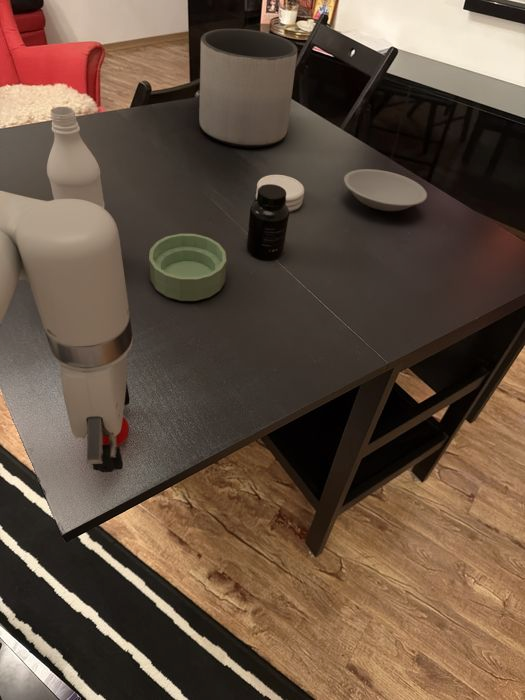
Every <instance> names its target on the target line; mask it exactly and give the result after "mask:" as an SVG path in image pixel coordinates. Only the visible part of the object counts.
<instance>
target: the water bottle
mask: <svg viewBox="0 0 525 700" xmlns="http://www.w3.org/2000/svg"><path fill="white" fill-rule="evenodd" d="M50 116H51V117H50V118H51V131H52V132H53V136H54V137H53V144H52V147H51V150H50V152H49V155H48V159H47V164H46V173H47V174H46V175H47V178H48V179H49V183H50V184H49V185H50V189H51V193H52V197H53V200H57V199H80V200H85V201H89V202H92V203H95V204H97V205H99V206H101V207H102V208H104V209H105V204H106V203H105V201H104V200H105V199H104V193H103V186H102V180H101V168H100V166H99V162H98V161H97V159H96V157H95V156H94V154H92V152H91V151H90V149H89V148H88V147H87V145H86V144H85V142H84V141H83V139H82V137H81V135H80V131H81V128H80V125H79V122H78V121H77V115H76V112H75V109H73V108H72V107H70V106H55V107H53V108H51V109H50Z"/></svg>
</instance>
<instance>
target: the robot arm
mask: <svg viewBox="0 0 525 700" xmlns="http://www.w3.org/2000/svg"><path fill="white" fill-rule="evenodd" d="M125 278H126V277H125V270H124V263H123V255H122V247H121V239H120V233H119V229H118V226H117V223H116V221H115V219H114V218H113V216H112V215H111V214H110V213H109V212H108V210H106V209H105V207H104V208H102V207H101V206H99V205H97V204H95V203H92V202H89V201H85V200H80V199H57V200H54V199H51V200H43V199H38V198H33V197H29V196H24V195H19V194H16V193H13V192H7V191H3V190H0V325H1V324H2V322H3V320H4V318H5V316H6V314H7V312H8V309H9V306H10V304H11V301H12V299H13V296H14V295H15V291H16V288H17V285H18V283H19V282H20V281H26V282H28V283H29V287H30V290H31V293H32V295H33V299H34V302H35V305H36V308H37V311H38V314H39V317H40V320H41V324H42V327H43V330H44V333H45V336H46V339H47V343H48V345H49V349H50V352H51V355H52V357H53V359H54V360H55V362H56V363H58V364H59V365H60V378H61V379H60V381H61V388H62V395H63V400H64V404H65V410H66V414H67V417H68V421H69V422H68V423H69V425H70V426H69V427H70V430H71V432H72V435H73V437H75V438H76V439H77V438H78V439H84V438H85V436H86V441H87V442H86V444H87V445H86V464H87V465H91V466H92V469H93V471H96V472H98V471H99V472H101V473H112V472H114V471H120V470H123V468H124V461H123V457H122V452H121V448H120V446H119V445H118V446H116V435H118V434H119V433H120V431H121V426H122V419H123V417H124V412H125V411H124V409H125V406H128V405H129V404H130V402H131V401H130V400H131V399H130V393H129V392H130V391H129V387H128V381H127V380H128V359H127V356H128V354H129V353H130V352H131V349H132V346H133V343H134V338H133V330H132V329H133V328H132V321H131V315H130V307H129V299H128V292H127V285H126V279H125ZM103 422H104V427H103ZM103 436H109V445H102V439H103Z"/></svg>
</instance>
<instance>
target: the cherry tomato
mask: <svg viewBox="0 0 525 700" xmlns="http://www.w3.org/2000/svg"><path fill="white" fill-rule="evenodd" d="M103 427H104V422H103ZM129 433H130V425H129V422H128V420H127V419H126V418H125V417H124V416H123V419H122V426H121V431H120V433H119V434H118V435H116V446H118V447H119V446H120V445H122V444H123V443H124V442H125V441H126V440H127V438H128V437H129ZM102 445H109V436H103V439H102Z"/></svg>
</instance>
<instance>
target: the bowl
mask: <svg viewBox="0 0 525 700" xmlns="http://www.w3.org/2000/svg"><path fill="white" fill-rule="evenodd" d="M148 255H149V256H148V265H149V276H150V282H151V284H152V286H153V287H154V289H155V290H156V291H157V292H159V293H160V294H161V295H163V296H164V297H166V298H168V299H173V300H177V301H181V302H196V301H200V300H205V299H209V298H211V297H212V296H214V295H216V294H217V293H218V292H220V291H221V290H222V288H223V286H224V285H225V283H226V273H227V252H226V250H225V249H224V248H223V246H222V245H221V244H220V243H219V242H217V241H216V240H214V239H212V238H210V237H208V236H204V235H201V234H197V233H177V234H172V235H167V236H165V237H163V238H161V239H159V240H157V241H156V242H154V244H153V245H152V246H151V248H150V249H149V254H148Z"/></svg>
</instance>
